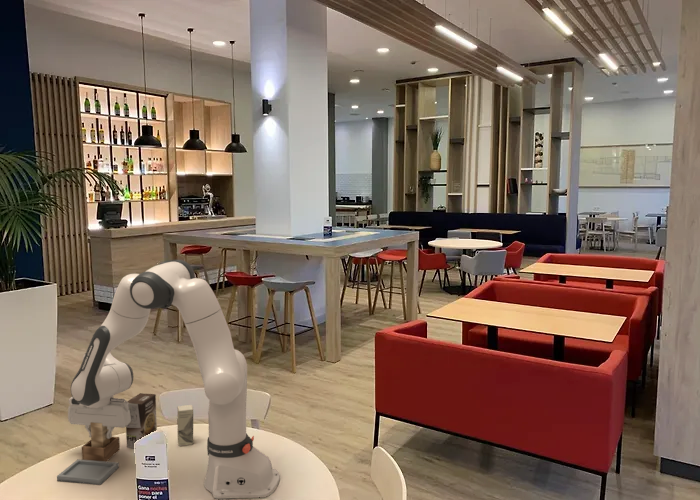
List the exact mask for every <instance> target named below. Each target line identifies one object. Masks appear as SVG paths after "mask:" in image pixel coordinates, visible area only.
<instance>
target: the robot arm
mask: <svg viewBox="0 0 700 500" xmlns="http://www.w3.org/2000/svg"><path fill="white" fill-rule="evenodd" d="M195 276H196V275H195V270H194V268H193V266H191V264H190V263H188V262H187V261H185V260H183V259H173V260H172V259H171V260H168V261H167V262H164V263H161V264H158V265H157V264H156V265H154V266H152V267H150V268H148V269H147V270H144V271H143V272H141V273H128V274H126V275H125V276H123V277H122V278H121V280H120V282H119V283H118V285H117V288H116V290H115V293H114V295H113V299H112V303H111V306H110V310H109V312H108V314H107V316H106V318H105V319H104V321H103V322H102V324H101V325H100V326H99V327H98V328H97V329H96V330H95V331H94V333H93V335H92V337H91V339H90V342H89V345H88V347H87V349H86V352H85V353H84V354H83V356H82V362H81V365H80V367H79V369H78V371H77V372H76V374H75V375H74V377H73V379H72V381H71V385H70V396H71V397H70V398H69V399H68V404H69V405H68V407H67V420H68V422H69V423H70V424H71V425H79V426H80V425H81V426H84V427H85V429H86V431H87V432H88V437H89V438H91V424H90V423H91V422H92V423H102V426H106V427H107V429H109V430H108V431H107V432H106V433H105V434H104V435H105V438H106V439H110V438H111V437H112V436H113V433H112V432H113V431H114V429H115V428H119V429H120V428H122V429H123V428H126V426H127V425H128V424H129V423H130V421H131V417H130V411H129V403H128V402H127V401H128V400H126V399H125V398H119V397H118V398H116V397H115V398H114V396H116V395H118V394H121V393H123V392H126V391H127V390H129V389H131V387H132V385H133V383H134V371H133V367H131V366H130V365H129V364H128V363H127V362H124V361H120V360H118V359H117V358H116V357H114V356H113V354H112V353H111V352H112V351H113V350H114V349H116V348H117V347H118V346H120V345H122V344H123V343H125V342H126V341H128V340H130V339H132V338H134V337H136V336H138V335H139V334H140V333H142V332H143V330H144V329H145V328H146V325H147V323H148V321H149V318H150V313H151V310H153V309H168V308H170V307H171V306H174V307H176V308H177V310H178V311H179V313H180V315H181V318H182V321H183V323H184V325H185V329H186V330H187V333H188V335H189V338H190V341H191V343H192V346H193V349H194V351H195V356H196V361H197V365H198V369H199V372H200V375H201V376H200V377H201V378H202V379H201V380H202V383H203V388H204V394H205V396H206V398H207V399H208V400H209V402H208V404H209V405H208V412H207V413H208V421H207V422H208V437H207V440H206V441H207V443H206V451H207V456H208V461H207V469H206V475H205V478H204V481H203V485H204V488H205V489H206V490H207V491H209V492H210V493H211V494H212V496H213V498H214V499H215V500H217V499H219V500H220V499H249V498H250V499H254V498H259V497H260V498H266V496H267V497H268V496H270V495H271V494H272V493H274V491H275V490H276V488H278V486H279V483H280V479H281V478H280V477H281V476H280V472H279V470H278V469H275V468H273V466H272V462H271V459H270V457H269V456H268V455H266V454H265V453H263V452H262V451H260V450H259V449H257V448H256V447H255V446H254V440H255V436H254V435H252V437H250V436H249V435H248V433H247V399H248V397H247V395H248V394H247V393H248V363H247V360H246V357H245V355H244V354H243V353H242V352H241V351H239V350H238V349H236V348H235V347H234V343H233V339H232V333H231V330H230V327H229V325H228V323H227V320H226V317H225V315H224V313H223V310H222V307H221V305H220V302H219V300H218V298H217V296H216V294H215V292H214V291H213V289H212V287H211V286H210V285H209V283H208V282H207V280H205V279H204V278H199V277H195Z"/></svg>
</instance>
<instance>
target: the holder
mask: <svg viewBox="0 0 700 500" xmlns="http://www.w3.org/2000/svg"><path fill="white" fill-rule="evenodd" d="M120 443H121V442H120V436H113V435H112V437H111V438H110V444H109V445H107V446H106V447H105V448H100V447H92V444H91V439H90V440H89V441H87V442H86V443H85V444H84V445H82V446H81V460H93V461H105V462H109V460H110V459H111V458H112V457H114V456H115V455H116V453H117V454H118V452H119V451H120V450H121V446H120Z"/></svg>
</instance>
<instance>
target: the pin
mask: <svg viewBox="0 0 700 500" xmlns="http://www.w3.org/2000/svg"><path fill="white" fill-rule="evenodd" d="M90 424H91V437H90V440H91V444H92V447H100V448H105V447H106V446H107V445H109V444H110V439H106V438H105V435H104V434H105V433H106V432H107V431H108V430H109V429H107V427H106V426H102V423H92V422H91V423H90Z"/></svg>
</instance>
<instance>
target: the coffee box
mask: <svg viewBox="0 0 700 500" xmlns="http://www.w3.org/2000/svg"><path fill="white" fill-rule="evenodd" d="M156 397H157V394H155V393H154V394H153V393H143V392H142V393H138V394H137V395H135V396H134V397H132V398H131V399H129V400H126V401H127V402H128V403H129V411H130V417H131V421H130V423H129V424H128V425H127V426H126V427H125V430H126V431H125V434H126V438H125V439H126V448H129V449H130V448H131V449H135V448H134V443H135V442H136V441H137V440H139V439H141V438H142V437H144V436H146V435H148V434H150V433H151V432H154V431H156V430H157V431H158V426H157V398H156Z"/></svg>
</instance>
